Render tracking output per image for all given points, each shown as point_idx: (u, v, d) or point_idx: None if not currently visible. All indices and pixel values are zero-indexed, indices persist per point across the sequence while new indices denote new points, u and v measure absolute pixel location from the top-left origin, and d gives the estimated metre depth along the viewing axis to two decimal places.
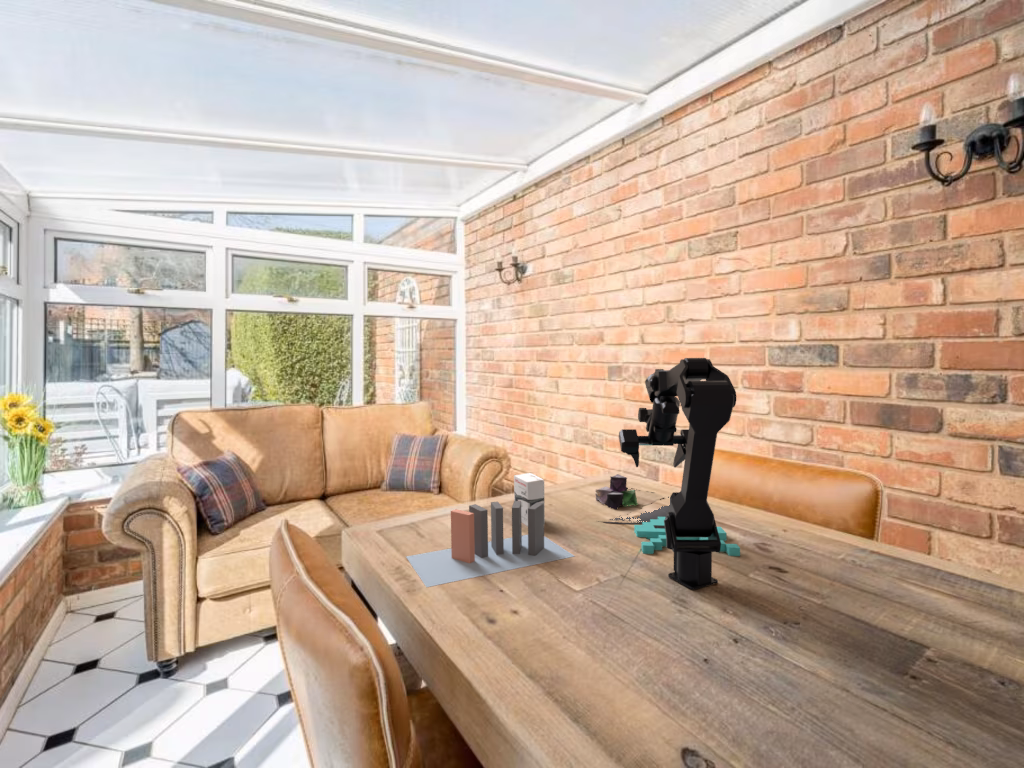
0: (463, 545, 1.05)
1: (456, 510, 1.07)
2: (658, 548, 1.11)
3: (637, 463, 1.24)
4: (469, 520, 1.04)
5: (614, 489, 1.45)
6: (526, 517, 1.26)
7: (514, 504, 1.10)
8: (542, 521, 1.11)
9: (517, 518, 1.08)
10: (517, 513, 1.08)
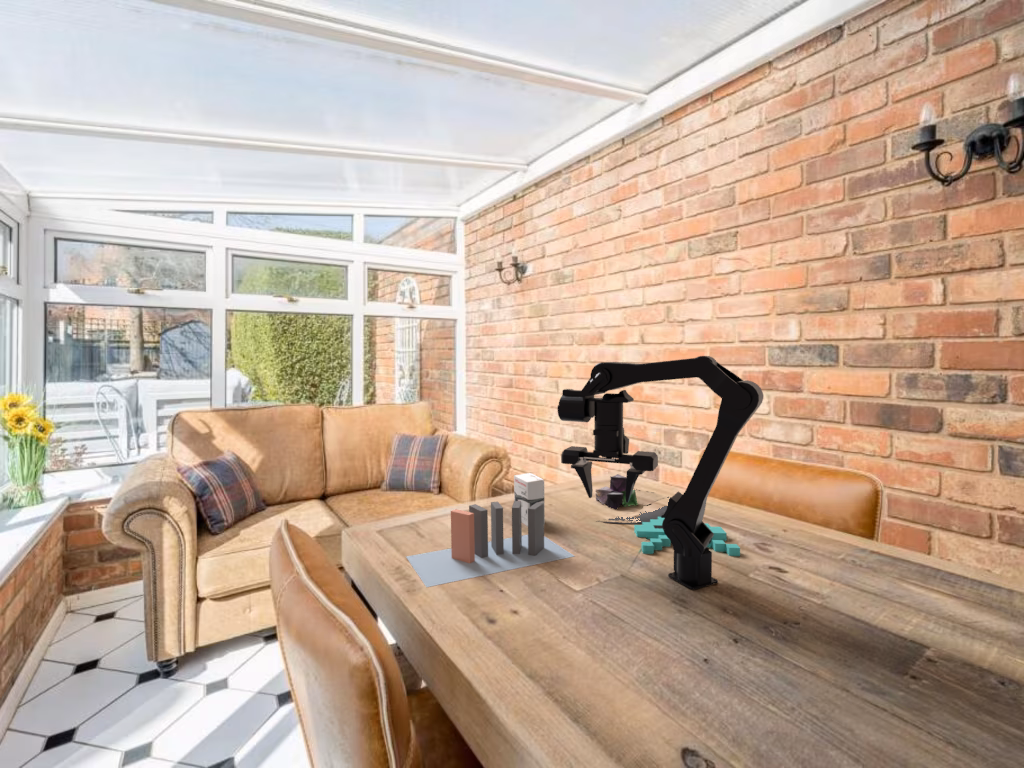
0: (463, 545, 1.05)
1: (456, 510, 1.07)
2: (658, 548, 1.11)
3: (587, 488, 1.04)
4: (469, 520, 1.04)
5: (614, 489, 1.45)
6: (526, 517, 1.26)
7: (514, 504, 1.10)
8: (542, 521, 1.11)
9: (517, 518, 1.08)
10: (517, 513, 1.08)
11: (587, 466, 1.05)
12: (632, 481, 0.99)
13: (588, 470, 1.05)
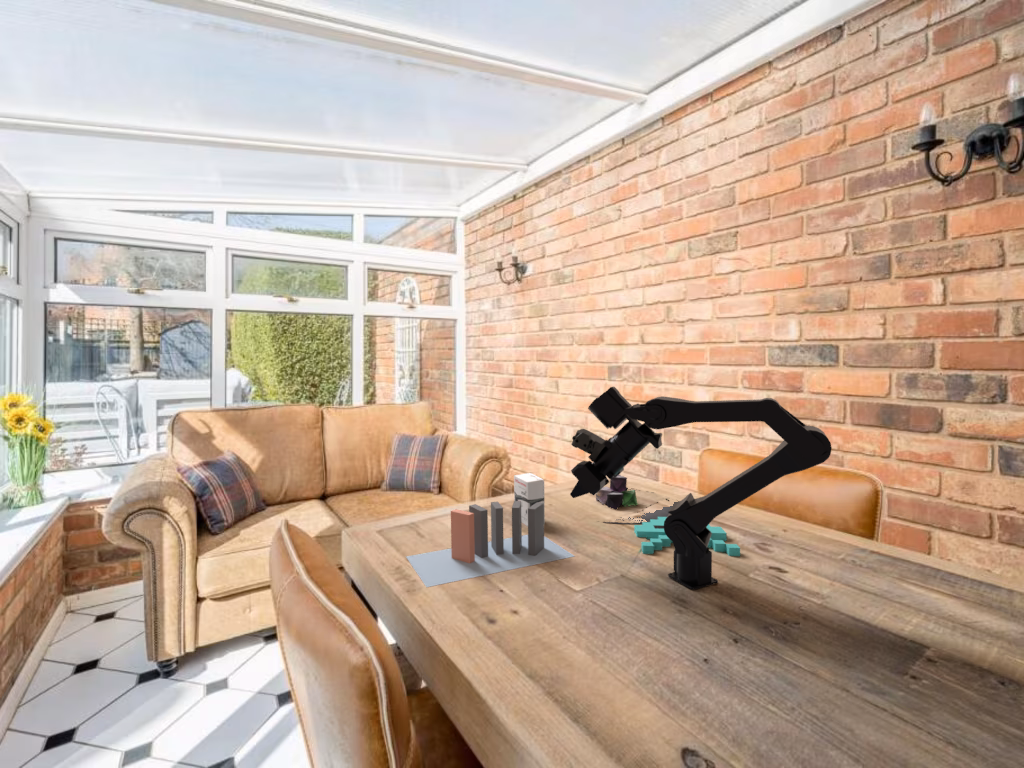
0: (463, 545, 1.05)
1: (456, 510, 1.07)
2: (658, 548, 1.11)
3: (582, 494, 1.04)
4: (469, 520, 1.04)
5: (614, 489, 1.45)
6: (526, 517, 1.26)
7: (514, 504, 1.10)
8: (542, 521, 1.11)
9: (517, 518, 1.08)
10: (517, 513, 1.08)
11: None
12: None
13: None
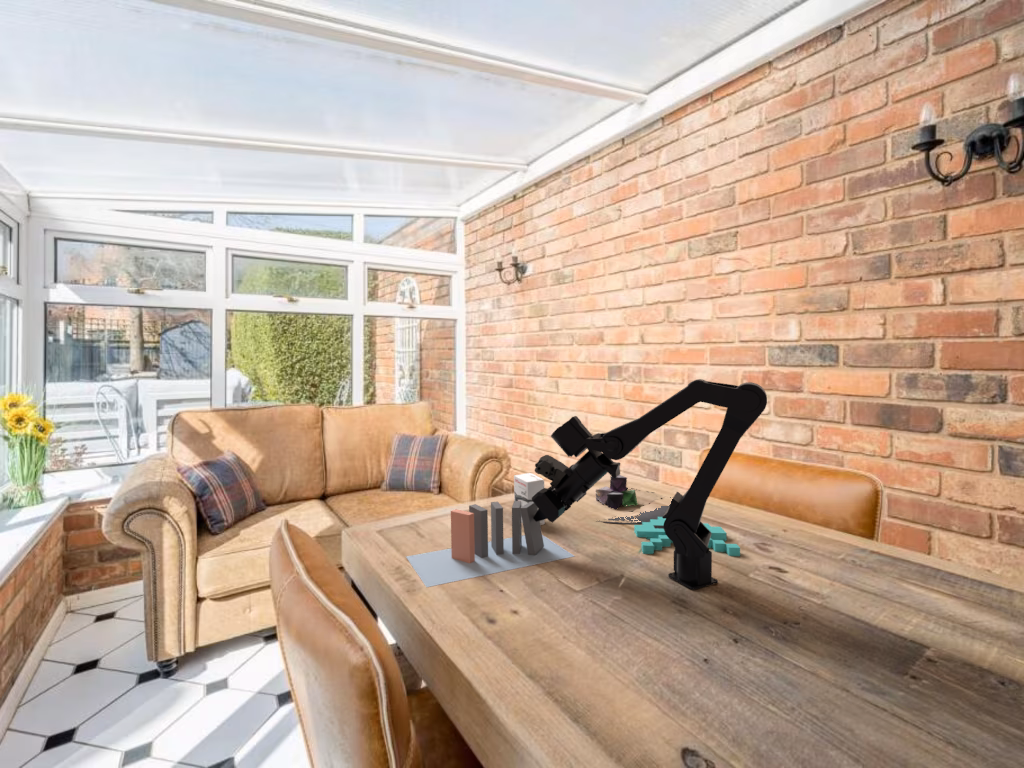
0: (463, 545, 1.05)
1: (456, 510, 1.07)
2: (658, 548, 1.11)
3: (544, 518, 1.08)
4: (469, 520, 1.04)
5: (614, 489, 1.45)
6: None
7: (514, 504, 1.10)
8: None
9: (517, 518, 1.08)
10: (517, 513, 1.08)
11: None
12: None
13: None
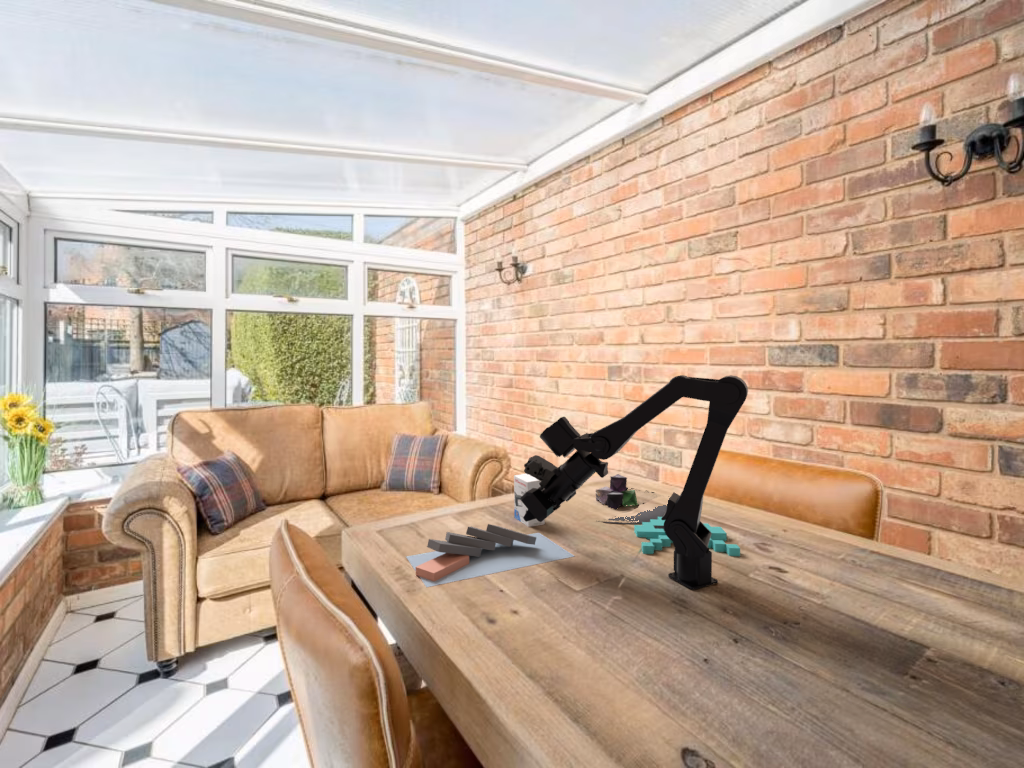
0: None
1: (418, 571, 0.98)
2: (658, 548, 1.11)
3: (534, 518, 1.09)
4: (438, 578, 0.97)
5: (614, 489, 1.45)
6: None
7: None
8: None
9: (477, 531, 1.10)
10: (472, 530, 1.10)
11: None
12: None
13: None
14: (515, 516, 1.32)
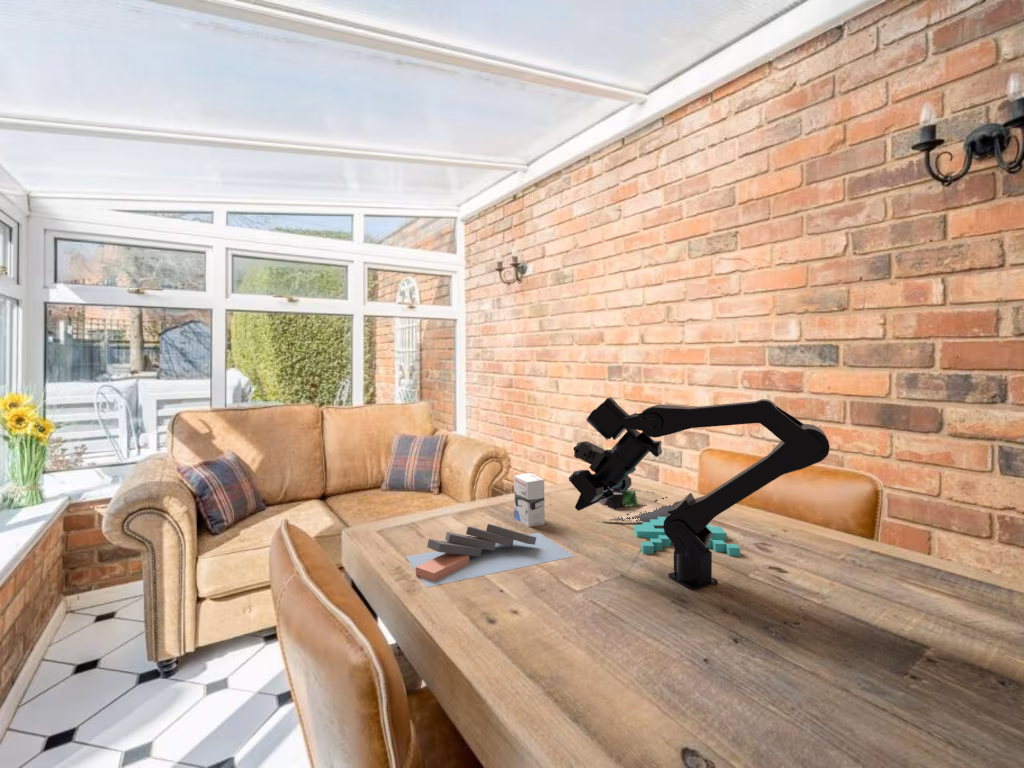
0: None
1: (418, 571, 0.98)
2: (658, 548, 1.11)
3: None
4: (438, 578, 0.97)
5: (614, 489, 1.45)
6: (526, 517, 1.26)
7: None
8: None
9: (477, 531, 1.10)
10: (472, 530, 1.10)
11: None
12: None
13: None
14: (515, 516, 1.32)
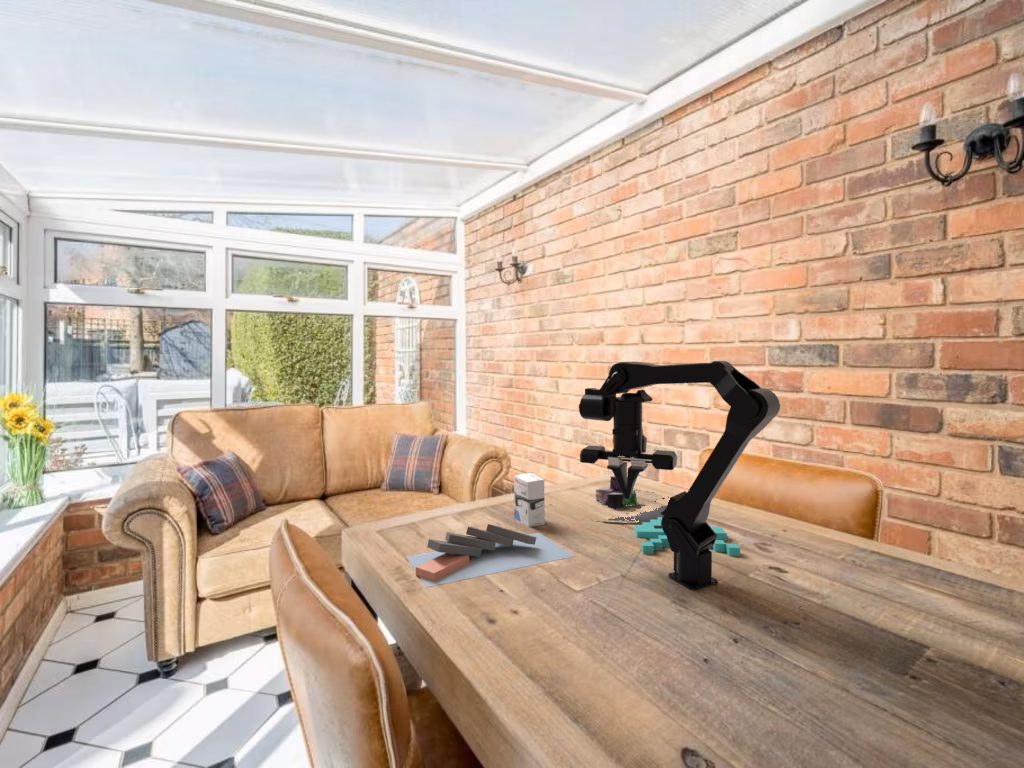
0: None
1: (418, 571, 0.98)
2: (658, 548, 1.11)
3: (623, 489, 1.04)
4: (438, 578, 0.97)
5: (614, 489, 1.45)
6: (526, 517, 1.26)
7: None
8: None
9: (477, 531, 1.10)
10: (472, 530, 1.10)
11: (623, 467, 1.04)
12: (633, 478, 1.02)
13: (624, 471, 1.04)
14: (515, 516, 1.32)
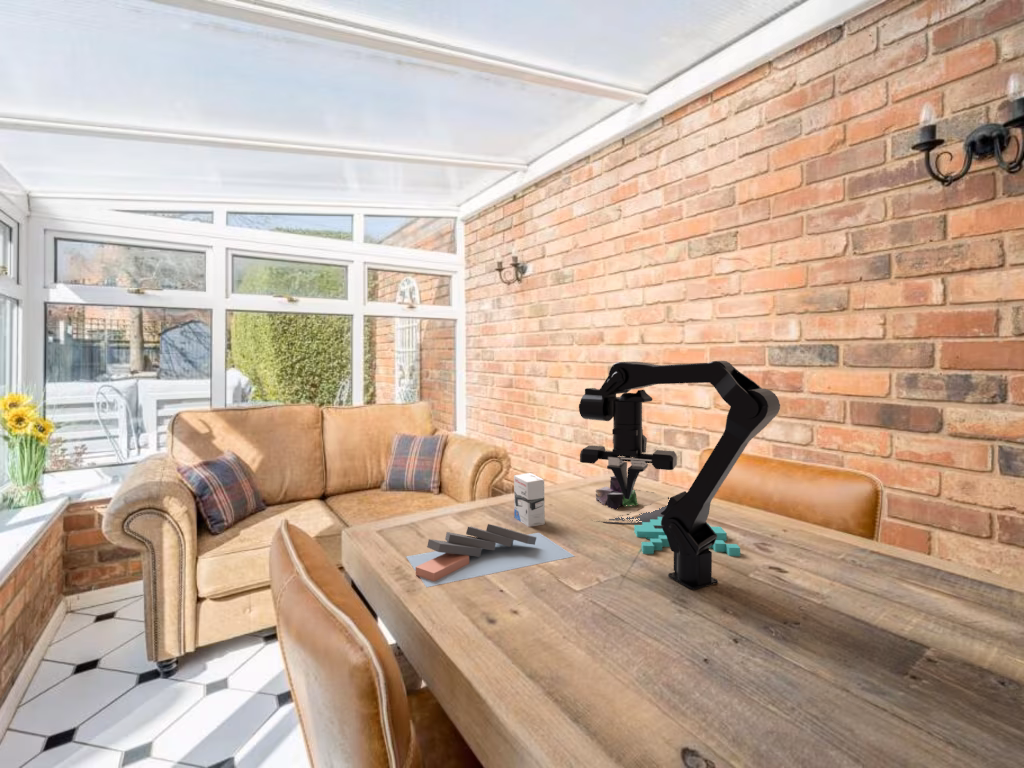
0: None
1: (418, 571, 0.98)
2: (658, 548, 1.11)
3: (623, 489, 1.04)
4: (438, 578, 0.97)
5: (614, 489, 1.45)
6: (526, 517, 1.26)
7: None
8: None
9: (477, 531, 1.10)
10: (472, 530, 1.10)
11: (623, 467, 1.04)
12: (633, 478, 1.02)
13: (624, 471, 1.04)
14: (515, 516, 1.32)
